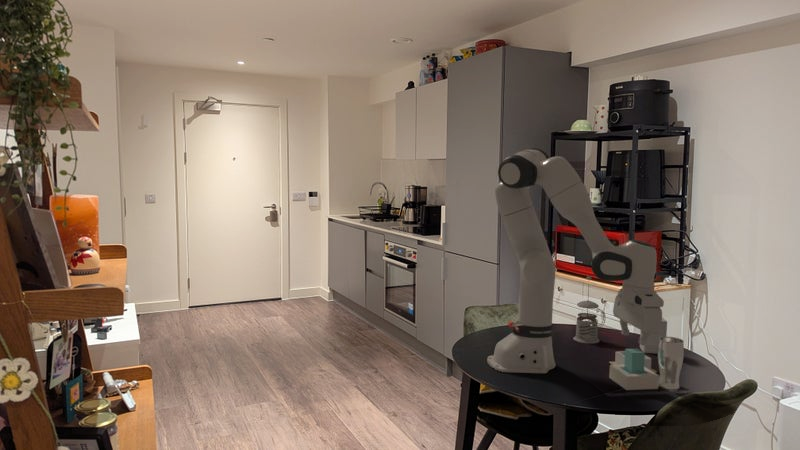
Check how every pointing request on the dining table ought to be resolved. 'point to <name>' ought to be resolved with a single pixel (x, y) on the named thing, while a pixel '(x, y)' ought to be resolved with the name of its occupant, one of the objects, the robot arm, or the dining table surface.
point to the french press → (587, 322)
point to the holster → (621, 360)
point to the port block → (634, 379)
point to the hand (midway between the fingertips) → (633, 339)
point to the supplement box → (654, 339)
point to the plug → (634, 361)
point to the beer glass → (670, 362)
